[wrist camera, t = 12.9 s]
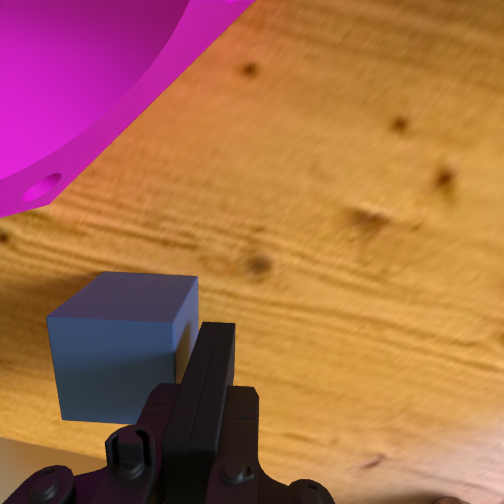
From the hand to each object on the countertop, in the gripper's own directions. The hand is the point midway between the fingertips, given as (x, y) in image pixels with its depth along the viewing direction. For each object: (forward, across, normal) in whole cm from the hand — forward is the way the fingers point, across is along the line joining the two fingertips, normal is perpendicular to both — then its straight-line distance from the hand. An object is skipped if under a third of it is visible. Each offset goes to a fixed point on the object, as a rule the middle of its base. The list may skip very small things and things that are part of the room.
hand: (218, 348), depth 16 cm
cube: (+3, -4, 0) cm, 5 cm away
